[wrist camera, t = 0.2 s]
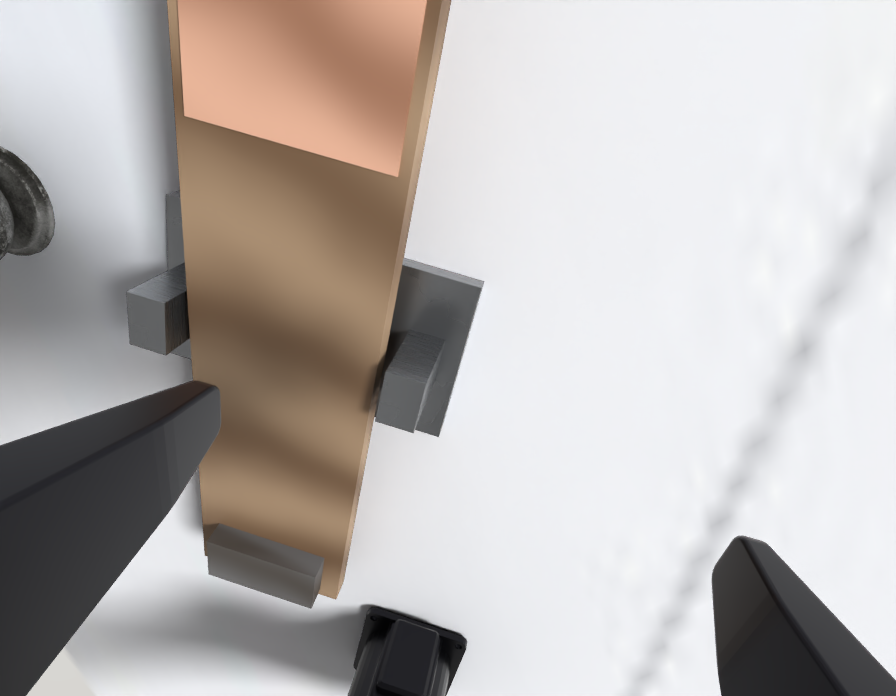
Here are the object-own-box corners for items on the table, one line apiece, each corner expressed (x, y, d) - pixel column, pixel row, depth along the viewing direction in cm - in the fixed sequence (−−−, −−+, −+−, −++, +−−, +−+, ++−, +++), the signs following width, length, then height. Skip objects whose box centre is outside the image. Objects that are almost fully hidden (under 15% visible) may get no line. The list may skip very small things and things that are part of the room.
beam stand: (441, 427, 27) (420, 490, 23) (180, 345, 27) (114, 392, 23) (484, 281, 23) (467, 326, 19) (177, 190, 24) (98, 215, 20)
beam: (343, 581, 32) (327, 619, 30) (216, 538, 32) (192, 573, 30) (474, -125, 14) (456, -147, 12) (182, -199, 14) (117, -232, 12)
